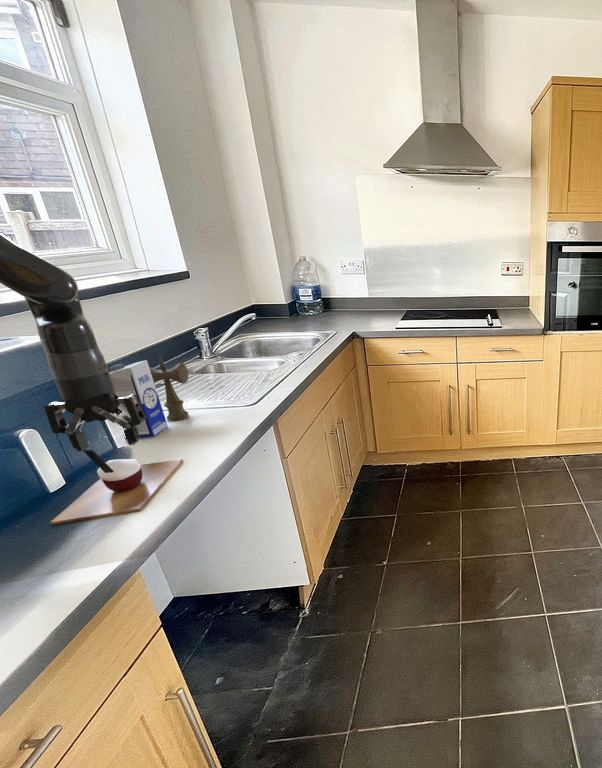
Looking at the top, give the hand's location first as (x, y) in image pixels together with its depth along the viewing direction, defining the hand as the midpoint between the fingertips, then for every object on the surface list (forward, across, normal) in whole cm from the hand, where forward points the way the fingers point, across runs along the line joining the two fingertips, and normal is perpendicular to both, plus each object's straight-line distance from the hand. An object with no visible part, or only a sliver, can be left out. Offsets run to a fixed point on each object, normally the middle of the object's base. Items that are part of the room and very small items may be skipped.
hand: (109, 446), depth 85 cm
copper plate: (+10, 0, 0) cm, 10 cm away
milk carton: (+11, -9, +31) cm, 34 cm away
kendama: (+11, -5, +40) cm, 42 cm away
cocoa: (+10, 0, -1) cm, 10 cm away
